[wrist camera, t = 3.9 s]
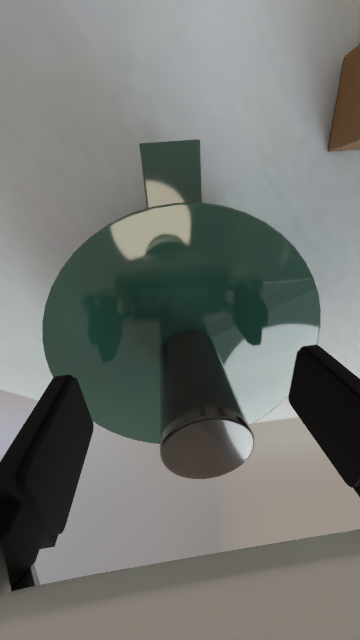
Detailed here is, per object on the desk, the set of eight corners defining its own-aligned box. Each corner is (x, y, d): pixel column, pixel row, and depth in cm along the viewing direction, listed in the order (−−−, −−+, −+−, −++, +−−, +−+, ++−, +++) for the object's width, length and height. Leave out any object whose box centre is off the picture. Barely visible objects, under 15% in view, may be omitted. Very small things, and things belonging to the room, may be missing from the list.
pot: (261, 163, 15) (344, 123, 8) (245, 376, 23) (281, 443, 16) (64, 178, 14) (-18, 148, 8) (119, 392, 23) (103, 467, 16)
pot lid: (332, 191, 10) (578, 159, 4) (288, 415, 16) (360, 526, 10) (5, 217, 9) (-250, 225, 3) (91, 441, 15) (51, 576, 10)
